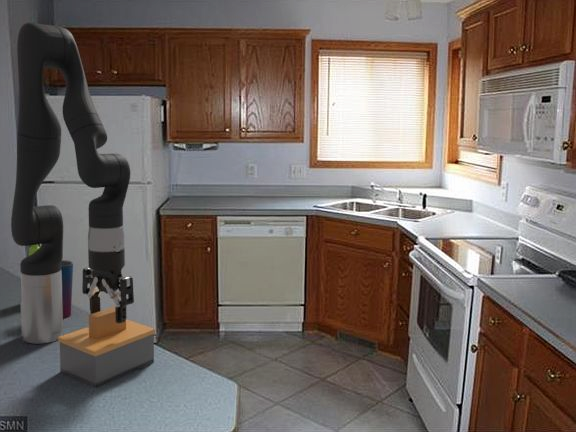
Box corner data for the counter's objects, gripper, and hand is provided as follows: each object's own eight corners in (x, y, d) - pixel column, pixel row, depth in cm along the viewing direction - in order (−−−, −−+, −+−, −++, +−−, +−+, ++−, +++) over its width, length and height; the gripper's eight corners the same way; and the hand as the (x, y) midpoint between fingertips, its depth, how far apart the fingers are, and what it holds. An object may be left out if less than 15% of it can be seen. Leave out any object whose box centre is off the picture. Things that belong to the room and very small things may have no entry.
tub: (60, 371, 123) (59, 341, 122) (119, 348, 136) (118, 321, 135) (95, 387, 116) (95, 355, 115) (153, 362, 130) (153, 333, 128)
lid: (58, 346, 122) (57, 315, 121) (118, 325, 135) (118, 296, 134) (95, 362, 115) (94, 328, 114) (155, 338, 129) (155, 308, 127)
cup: (65, 321, 152) (63, 267, 150) (42, 318, 154) (41, 265, 151) (79, 312, 159) (78, 261, 156) (57, 310, 160) (56, 259, 158)
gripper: (70, 244, 122) (73, 315, 125) (114, 254, 115) (115, 330, 117) (99, 239, 128) (101, 307, 131) (142, 248, 121) (143, 320, 123)
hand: (107, 318), depth 124 cm, fingers open, 8 cm apart
